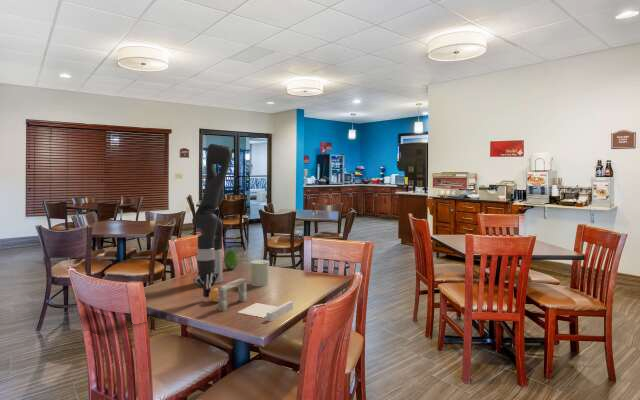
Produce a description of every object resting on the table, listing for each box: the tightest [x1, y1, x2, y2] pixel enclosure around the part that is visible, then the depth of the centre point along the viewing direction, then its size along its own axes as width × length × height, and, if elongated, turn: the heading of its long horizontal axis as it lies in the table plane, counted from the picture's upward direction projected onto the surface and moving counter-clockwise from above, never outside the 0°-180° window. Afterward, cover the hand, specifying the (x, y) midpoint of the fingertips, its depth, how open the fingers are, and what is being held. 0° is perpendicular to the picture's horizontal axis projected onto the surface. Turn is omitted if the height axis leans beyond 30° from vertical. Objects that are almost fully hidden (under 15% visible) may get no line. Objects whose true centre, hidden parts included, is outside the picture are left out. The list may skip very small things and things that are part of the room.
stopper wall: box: [266, 300, 294, 322], centre depth 156 cm, size 2×16×3 cm, turn 153°
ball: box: [208, 287, 218, 303], centre depth 171 cm, size 6×6×6 cm
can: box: [250, 259, 270, 287], centre depth 199 cm, size 9×9×12 cm
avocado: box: [223, 248, 239, 270], centre depth 231 cm, size 8×8×12 cm
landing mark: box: [236, 302, 277, 319], centre depth 161 cm, size 13×13×1 cm
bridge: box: [217, 277, 248, 312], centre depth 167 cm, size 3×15×10 cm, turn 153°
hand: (206, 296), depth 172 cm, fingers closed
